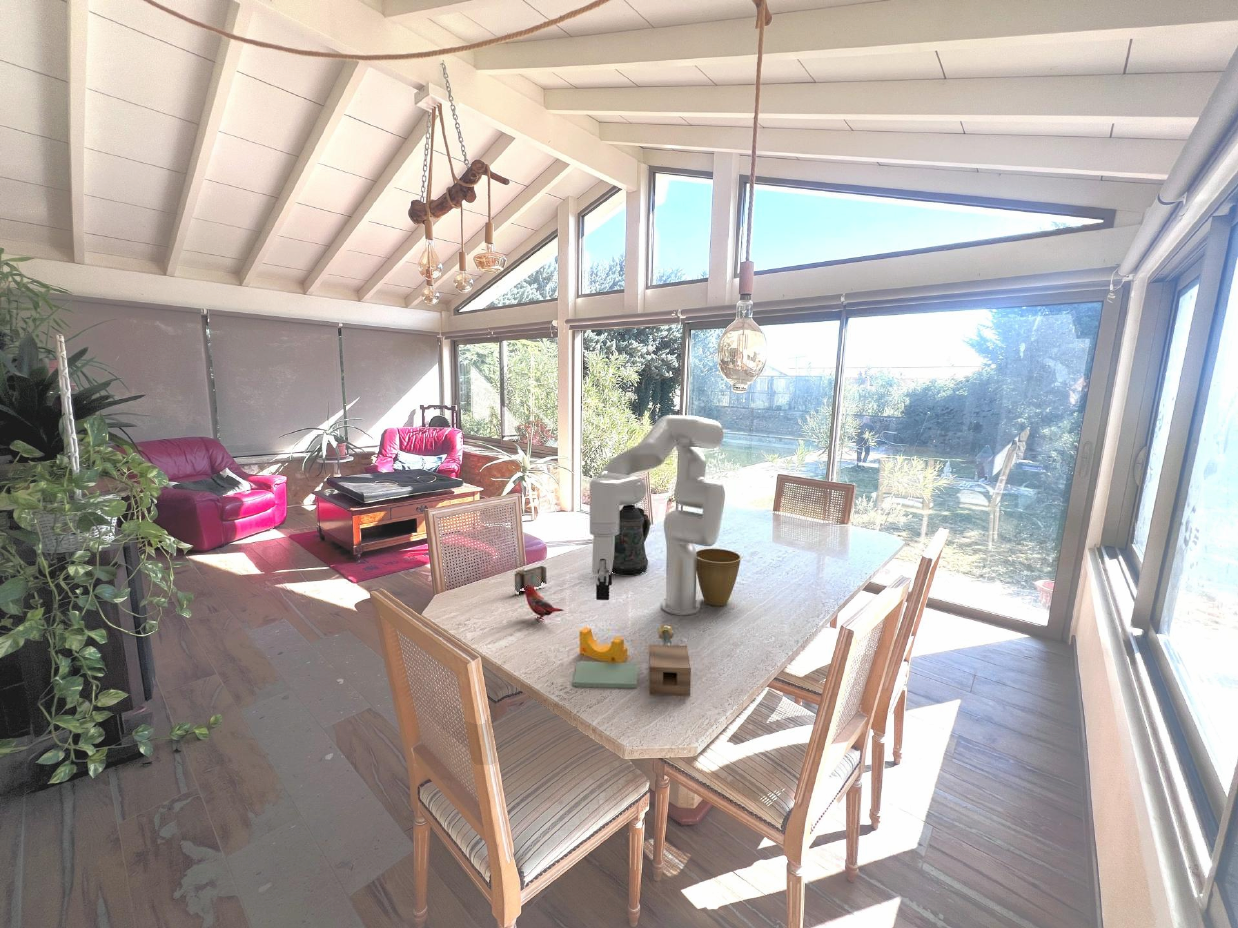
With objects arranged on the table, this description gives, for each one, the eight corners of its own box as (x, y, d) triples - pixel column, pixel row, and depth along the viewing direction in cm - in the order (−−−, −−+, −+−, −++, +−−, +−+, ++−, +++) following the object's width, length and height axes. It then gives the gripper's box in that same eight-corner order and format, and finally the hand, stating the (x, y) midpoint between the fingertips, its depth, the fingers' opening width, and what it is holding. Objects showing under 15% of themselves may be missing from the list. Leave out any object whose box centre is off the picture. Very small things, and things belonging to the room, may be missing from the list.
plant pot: (740, 613, 153) (742, 563, 151) (692, 609, 156) (693, 560, 154) (738, 594, 167) (740, 549, 165) (694, 590, 170) (695, 546, 168)
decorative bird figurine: (528, 611, 154) (527, 581, 153) (567, 628, 143) (567, 595, 142) (520, 614, 152) (519, 584, 151) (560, 632, 141) (560, 599, 139)
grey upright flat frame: (520, 597, 166) (519, 569, 165) (515, 594, 168) (514, 567, 167) (547, 588, 174) (546, 562, 173) (542, 586, 176) (541, 559, 175)
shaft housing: (649, 670, 121) (649, 644, 120) (686, 671, 121) (686, 645, 120) (649, 694, 111) (649, 666, 110) (690, 695, 111) (690, 667, 110)
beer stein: (600, 573, 187) (599, 509, 184) (615, 557, 205) (615, 499, 202) (642, 578, 182) (642, 512, 179) (654, 561, 201) (654, 501, 197)
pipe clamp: (627, 658, 127) (627, 635, 126) (618, 666, 123) (618, 642, 122) (589, 646, 133) (589, 624, 132) (579, 653, 129) (579, 630, 129)
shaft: (658, 638, 133) (658, 624, 132) (672, 638, 133) (673, 625, 132) (660, 669, 118) (660, 654, 117) (676, 670, 118) (677, 654, 117)
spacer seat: (577, 665, 124) (577, 661, 123) (637, 666, 123) (637, 662, 123) (572, 685, 115) (572, 682, 115) (636, 687, 114) (636, 683, 114)
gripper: (593, 518, 133) (593, 579, 135) (585, 536, 116) (585, 605, 118) (620, 519, 132) (620, 580, 135) (617, 536, 115) (617, 606, 117)
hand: (604, 591), depth 126 cm, fingers open, 9 cm apart
